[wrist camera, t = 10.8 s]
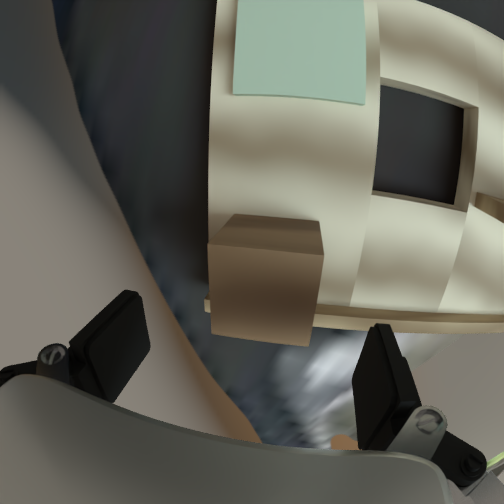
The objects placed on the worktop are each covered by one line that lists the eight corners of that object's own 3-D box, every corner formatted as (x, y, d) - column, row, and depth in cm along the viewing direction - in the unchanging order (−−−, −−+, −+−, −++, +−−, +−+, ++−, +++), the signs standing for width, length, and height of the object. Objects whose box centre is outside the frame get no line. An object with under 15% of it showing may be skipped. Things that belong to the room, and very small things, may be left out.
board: (227, -6, 13) (201, -45, 8) (561, 94, 8) (598, 96, 3) (218, 288, 21) (193, 332, 16) (522, 312, 17) (548, 344, 12)
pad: (241, -4, 11) (238, -10, 10) (360, 3, 10) (363, -3, 9) (236, 96, 14) (232, 93, 13) (362, 106, 13) (365, 104, 12)
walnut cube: (234, 213, 17) (207, 243, 12) (319, 220, 16) (324, 255, 11) (234, 286, 19) (211, 333, 14) (309, 295, 18) (308, 346, 13)
